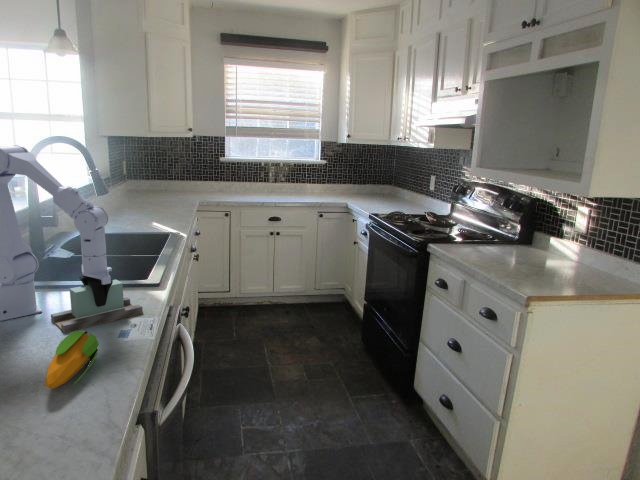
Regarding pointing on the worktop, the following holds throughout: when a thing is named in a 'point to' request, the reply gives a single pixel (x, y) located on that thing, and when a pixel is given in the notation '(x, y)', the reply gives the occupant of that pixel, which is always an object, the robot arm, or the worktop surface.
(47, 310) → the worktop surface
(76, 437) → the worktop surface
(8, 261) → the robot arm
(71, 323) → the track
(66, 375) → the corn
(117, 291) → the green block
